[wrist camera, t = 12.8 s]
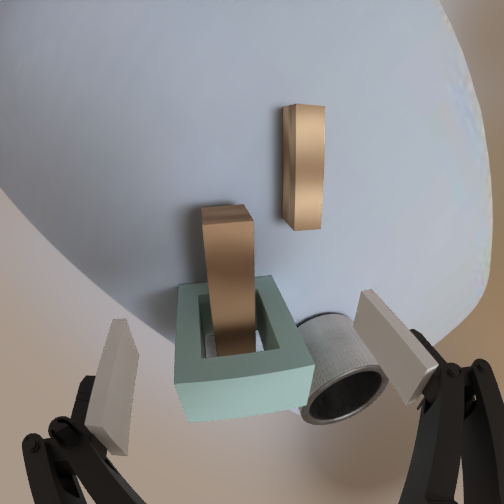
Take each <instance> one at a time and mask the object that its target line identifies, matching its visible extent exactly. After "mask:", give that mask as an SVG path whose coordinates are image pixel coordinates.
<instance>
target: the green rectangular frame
mask: <svg viewBox="0 0 504 504" xmlns="http://www.w3.org/2000/svg"><path fill="white" fill-rule="evenodd" d="M255 330H258V332H259V335H260V338H261V341H262V344H263V348H264V351H260V352H253V353H246V354H238V355H230V356H221V357H212V358H206V350H205V337H204V336H213V335H214V328H213V320H212V312H211V304H210V296H209V288H208V282H205V283H194V284H183V285H179V291H178V305H177V320H176V339H175V365H174V385H175V388H176V391H177V393H178V396H179V399H180V402H181V404H182V407H183V410H184V412H185V415H186V417H187V420H188V422H202V421H214V420H223V419H232V418H240V417H247V416H253V415H260V414H266V413H271V412H277V411H282V410H287V409H292V408H297V407H301V406H305V405H307V401H308V396H309V392H310V387H311V383H312V378H313V373H314V368H315V363H314V361H313V359H312V357H311V355H310V353H309V350H308V348H307V346H306V344H305V342H304V340H303V338H302V336H301V334H300V332H299V330H298V328H297V326H296V324H295V322H294V320H293V318H292V316H291V314H290V312H289V310H288V308H287V305H286V303H285V301H284V299H283V297H282V295H281V293H280V291H279V289H278V287H277V285H276V283H275V281H274V279H273V277H272V275H271V276H262V277H255Z"/></svg>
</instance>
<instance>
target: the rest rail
mask: <svg viewBox="0 0 504 504" xmlns="http://www.w3.org/2000/svg"><path fill="white" fill-rule="evenodd" d="M324 150H325V106H316V105H303V104H294V105H289V106H285V107H283V219H284V220H285V221H286V223H287V224H288V225H289V226H290V227H291V228H292V229H293V230H294V231H300V230H313V229H321V217H322V200H323V180H324Z"/></svg>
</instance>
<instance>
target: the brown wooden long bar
mask: <svg viewBox="0 0 504 504" xmlns="http://www.w3.org/2000/svg"><path fill="white" fill-rule="evenodd" d="M201 210H202V229H203V240H204V250H205V260H206V270H207V279H208V288H209V296H210V304H211V312H212V320H213V328H214V335H215V342H216V350H217V356H218V357H221V356H230V355H238V354H246V353H253V352H256V333H255V276H254V222H253V219H252V217H251V216H250V214H249V212H248V211H247V209H246V207H245V206H244V204H241V205H228V206H216V207H204V208H201Z"/></svg>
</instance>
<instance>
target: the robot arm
mask: <svg viewBox="0 0 504 504" xmlns="http://www.w3.org/2000/svg"><path fill="white" fill-rule="evenodd" d="M353 328H354V329H355V331H356V332H357V334H358V335H359V337H360V338H361V339H362V341H363V342H364V344H365V345H366V347H367V348H368V349H369V351H370V352H371V354H372V355H373V357H374V358H375V360H376V361H377V363H378V364H379V365H380V367H381V368H382V370H383V371H384V373H385V374H386V376H387V377H388V379H389V380H390V382H391V383H392V385H393V386H394V388H395V389H396V391H397V392H398V394H399V395H400V397H401V398H402V400H403V401H404V403H405V404H406V405H407V404H410V403H412V402H414V401H416V400H417V399H418V398H419V396H420V395H421V393H422V394H423V395H424V398H423V400H422V401H421V403H420V404H419V406H418V407H417V410H419V408H420V407H421V406H422V407H421V414H420V420H419V426H418V431H417V437H416V441H415V446H414V451H413V455H412V459H411V463H410V467H409V471H408V474H407V478H406V482H405V485H404V488H403V491H402V494H401V497H400V500H399V503H398V504H458V503H457V502H456V501H454V494H455V489H456V484H457V478H458V472H459V466H460V458H461V459H462V469H463V487H464V504H504V403H503V400H502V397H501V394H500V391H499V388H498V385H497V382H496V379H495V377H494V374H493V371H492V368H491V366H490V364H489V363H488V362H487V361H485V360H483V359H476V360H475V361H474V362H473V363H472V365H471V366H470V367H463V368H461V367H460V366H458V365H457V364H455V363H447V362H446V361H445V360H444V359H443V358H442V357H441V356H440V354H439V353H438V352H437V351H436V350H435V349H434V348H433V346H431V344H430V343H429V342H428V341H427V340H426V338H425V337H424V336H423V335H422V334H421V333H419V332H418V331H416V330H415V329H411V330H409V329H408V328H407V327H406V326H405V325H404V323H403V322H402V321H401V320H400V319H399V318H398V317H397V316H396V315H395V313H394V312H393V311H392V310H391V309H390V308H389V307H388V306H387V305H386V304H385V303H384V302H383V300H382V299H381V298H380V297H379V296H378V295H377V294H376V293H375V292H374V291H373V290H372V289H370V290H364V291H361V295H360V299H359V304H358V308H357V312H356V317H355V321H354V325H353ZM138 359H139V354H138V351H137V348H136V346H135V343H134V340H133V337H132V334H131V332H130V329H129V326H128V323H127V320H126V319H113V321H112V324H111V327H110V330H109V334H108V337H107V340H106V343H105V346H104V349H103V353H102V357H101V360H100V363H99V367H98V370H97V374H96V376H86V377H85V378H84V379H83V380H82V382H81V383H80V386H79V389H78V394H77V396H76V401H75V404H74V408H73V411H72V415H71V419H70V418H68V417H66V416H61V417H57V418H55V419H54V420H53V421H51V423H50V425H49V429H48V432H49V436H50V437H51V438H47V439H43V438H42V437H41V436H40V435H38V434H36V433H34V434H32V433H31V434H29V435H27V436H26V437H25V438H24V440H23V442H22V450H23V456H24V462H25V467H26V471H27V476H28V480H29V485H30V488H31V492H32V496H33V499H34V502H35V504H87V502H86V500H85V498H84V495H83V493H82V490H81V487H80V485H79V482H78V479H77V477H78V478H79V479H80V481H81V483H82V484H83V486H84V487H85V489H86V490H87V492H88V493H89V494H90V496H91V497H92V499H93V500H94V501H95V503H96V504H146V503H145V502H144V501H143V500H142V498H141V497H140V496H139V495H138V494H137V493H136V492H135V491H134V490H133V489H132V487H131V486H130V485H129V484H128V483H127V482H126V480H125V479H124V478H123V477H122V476H121V474H120V473H119V472H118V471H117V469H116V468H115V467H114V466H113V464H112V463H111V462H110V460H109V459H108V458H107V457H106V454H107V450H108V451H109V452H110V453H111V454H112V455H119V456H127V455H128V442H129V429H130V420H131V410H132V402H133V393H134V386H135V379H136V372H137V365H138ZM474 396H476V400H475V398H474ZM76 475H77V477H76Z"/></svg>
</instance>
